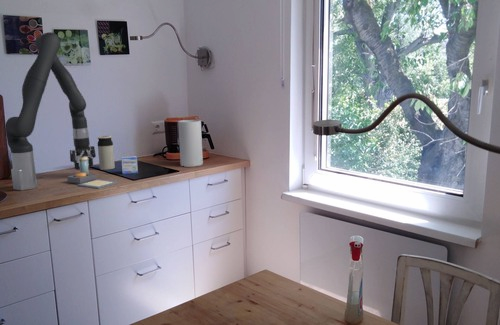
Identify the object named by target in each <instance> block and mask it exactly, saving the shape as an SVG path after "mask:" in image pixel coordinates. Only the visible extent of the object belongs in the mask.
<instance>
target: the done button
mask: <svg viewBox="0 0 500 325" xmlns="http://www.w3.org/2000/svg"><path fill="white" fill-rule="evenodd" d="M74 175H75V176H76V177H84V176H86V173H80V172H77V173H75V174H74Z"/></svg>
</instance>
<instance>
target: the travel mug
mask: <svg viewBox="0 0 500 325" xmlns="http://www.w3.org/2000/svg"><path fill="white" fill-rule="evenodd" d="M97 139H98V140H97V151H98V164H99V169H100V170H102V171H111V170H114V169H115V167H116V166H115V164H116V163H115V153H114V142H113V140H112V135H100V136H97Z"/></svg>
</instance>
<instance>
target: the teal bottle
mask: <svg viewBox="0 0 500 325" xmlns="http://www.w3.org/2000/svg"><path fill="white" fill-rule="evenodd" d="M78 163H79V167H80V169H79V170H80V172H79V173H86V174H90V173H89V172H90V171H89V163H88V157H87V156H84V157H81V159H80V160H79V162H78Z"/></svg>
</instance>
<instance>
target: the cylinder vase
mask: <svg viewBox="0 0 500 325" xmlns="http://www.w3.org/2000/svg"><path fill="white" fill-rule="evenodd" d="M177 124H178V125H177V126H178V140H179V141H178V143H179V157H180V158H179V160H180V161H179V162H180V166H181V167H183V166H184V168H197V167H200V166H203V164H204V159H203V138H202V119H201V120H200V119H182V120H178V121H177ZM196 166H197V167H196Z"/></svg>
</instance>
